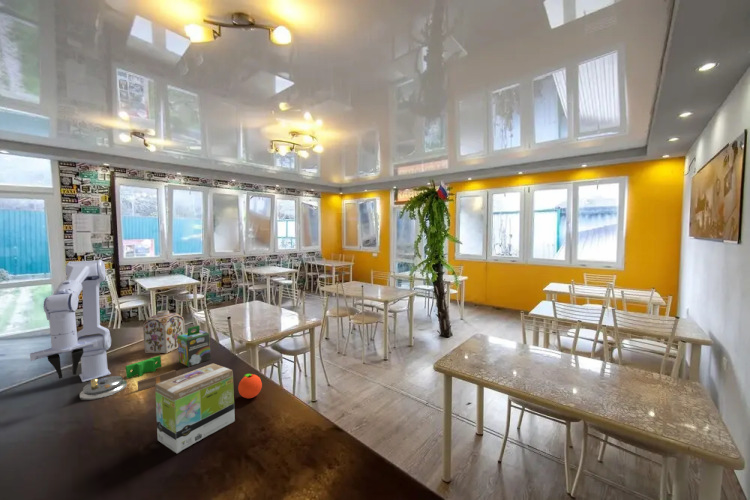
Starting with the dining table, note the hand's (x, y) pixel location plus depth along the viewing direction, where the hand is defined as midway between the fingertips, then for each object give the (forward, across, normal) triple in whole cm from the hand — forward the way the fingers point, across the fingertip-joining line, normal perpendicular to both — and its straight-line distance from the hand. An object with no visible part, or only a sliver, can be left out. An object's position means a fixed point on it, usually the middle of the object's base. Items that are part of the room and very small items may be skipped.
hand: (67, 375), depth 96 cm
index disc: (+8, +9, +3) cm, 12 cm away
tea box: (+10, +20, -48) cm, 53 cm away
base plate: (+9, +8, +4) cm, 13 cm away
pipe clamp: (+10, +21, +9) cm, 25 cm away
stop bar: (+9, +22, -6) cm, 24 cm away
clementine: (+10, +38, -42) cm, 57 cm away
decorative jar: (+10, +34, +34) cm, 49 cm away
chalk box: (+10, +38, +6) cm, 39 cm away
